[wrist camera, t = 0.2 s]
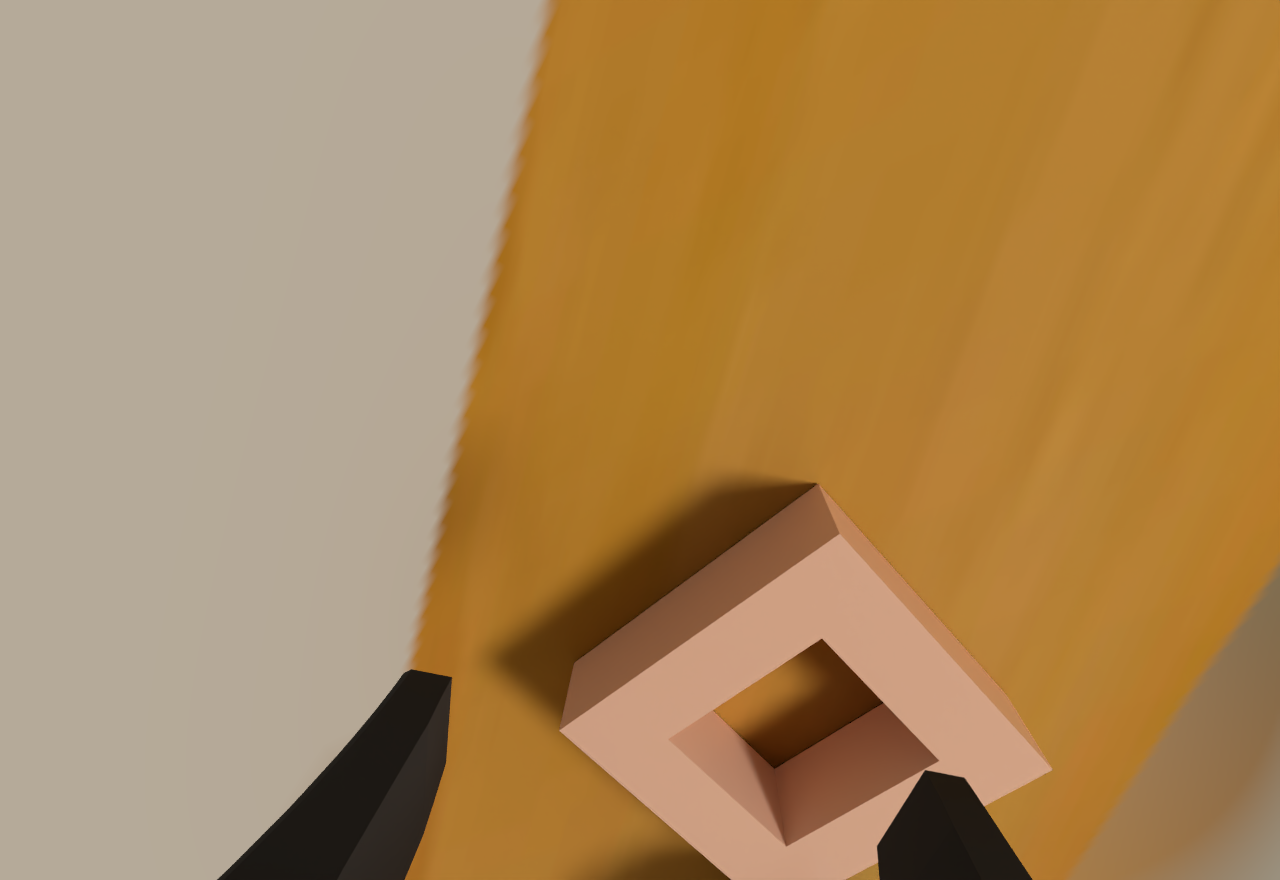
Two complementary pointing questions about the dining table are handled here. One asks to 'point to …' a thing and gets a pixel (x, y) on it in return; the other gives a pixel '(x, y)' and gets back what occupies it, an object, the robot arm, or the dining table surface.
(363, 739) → the robot arm
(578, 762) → the dining table surface
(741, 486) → the dining table surface
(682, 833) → the well
